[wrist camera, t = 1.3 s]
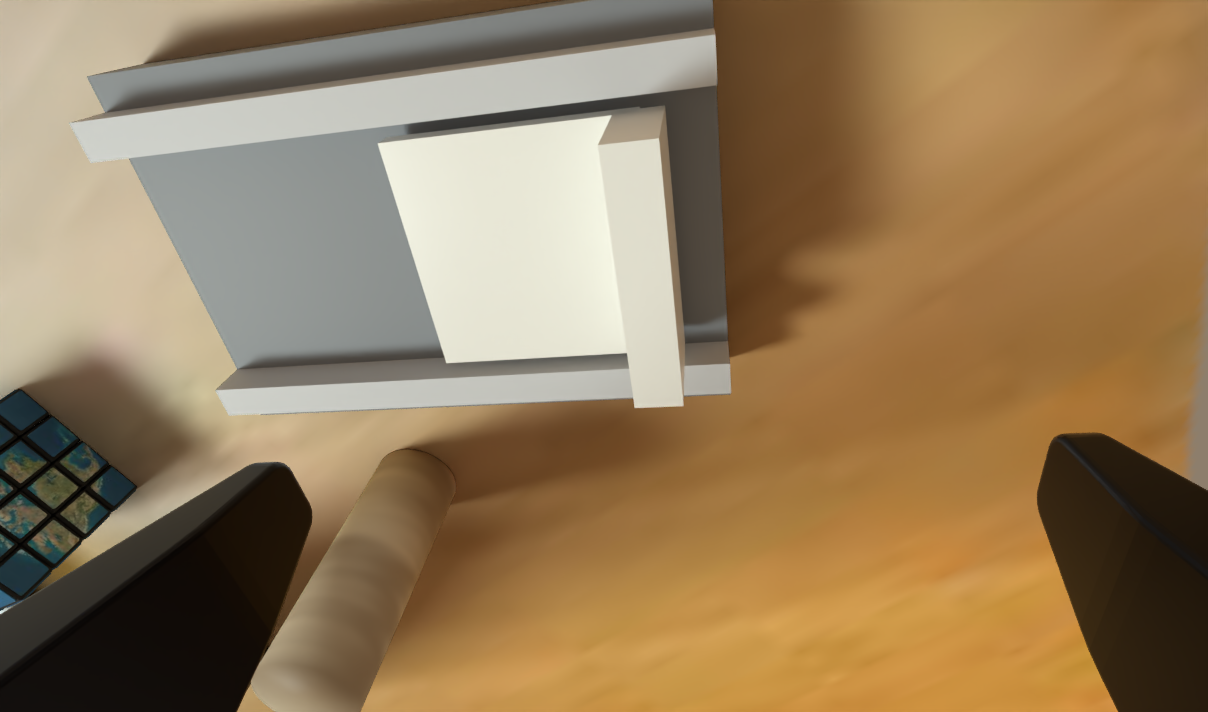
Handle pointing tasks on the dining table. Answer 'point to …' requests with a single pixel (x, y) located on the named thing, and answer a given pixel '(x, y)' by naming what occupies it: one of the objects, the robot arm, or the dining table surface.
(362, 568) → the maple pin
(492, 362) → the grey sliding panel frame
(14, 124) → the dining table surface
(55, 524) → the puzzle
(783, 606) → the dining table surface
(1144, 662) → the robot arm
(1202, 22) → the dining table surface
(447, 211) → the shutter
